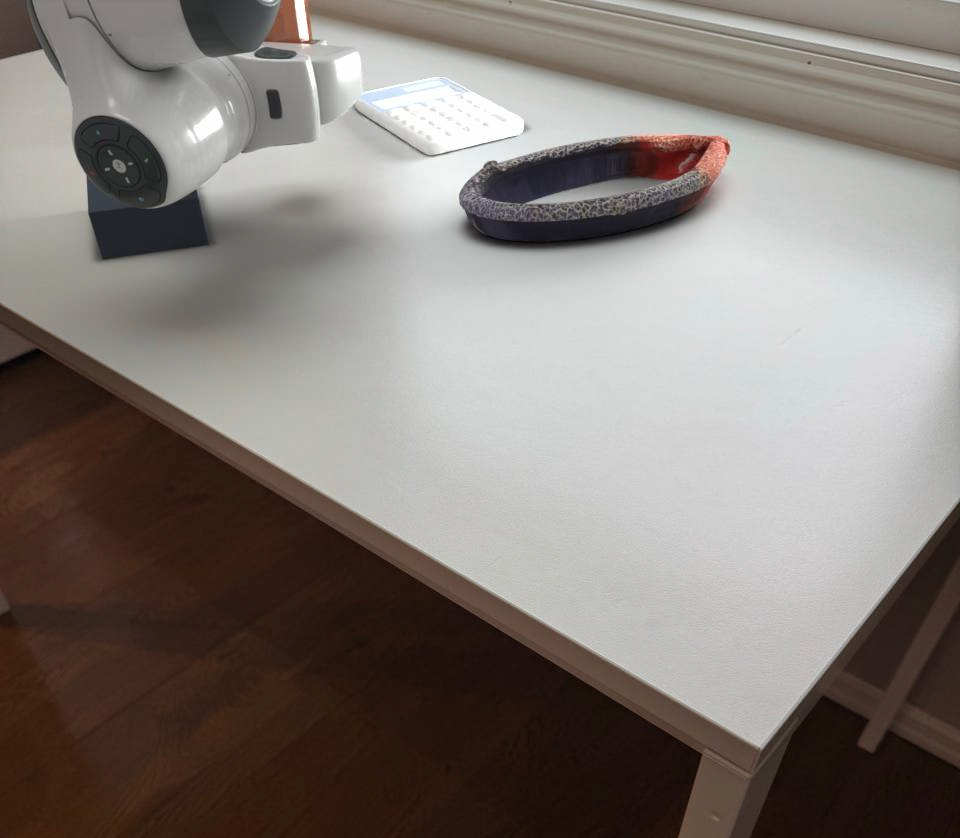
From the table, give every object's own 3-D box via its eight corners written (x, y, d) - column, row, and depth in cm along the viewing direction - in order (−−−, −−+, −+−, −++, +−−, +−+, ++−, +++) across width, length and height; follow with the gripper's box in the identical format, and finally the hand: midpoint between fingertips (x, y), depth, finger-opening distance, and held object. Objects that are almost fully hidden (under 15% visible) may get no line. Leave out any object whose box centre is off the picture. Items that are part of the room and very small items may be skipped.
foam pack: (104, 265, 92) (88, 212, 88) (100, 207, 101) (85, 157, 98) (210, 250, 94) (198, 198, 90) (196, 195, 103) (185, 145, 100)
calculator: (428, 158, 109) (428, 140, 108) (350, 108, 121) (349, 91, 120) (527, 134, 114) (527, 117, 112) (443, 88, 126) (442, 72, 124)
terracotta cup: (257, 129, 91) (235, 5, 83) (248, 107, 95) (227, -13, 88) (327, 120, 92) (311, -3, 85) (315, 98, 96) (299, -20, 89)
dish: (432, 212, 99) (429, 161, 96) (685, 160, 108) (692, 111, 104) (497, 274, 89) (497, 220, 86) (770, 211, 98) (781, 160, 94)
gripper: (115, 126, 85) (188, 77, 94) (332, 144, 81) (386, 91, 90) (93, 45, 81) (172, 2, 90) (322, 59, 77) (380, 13, 86)
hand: (281, 46), depth 90 cm, fingers closed on terracotta cup, 7 cm apart
